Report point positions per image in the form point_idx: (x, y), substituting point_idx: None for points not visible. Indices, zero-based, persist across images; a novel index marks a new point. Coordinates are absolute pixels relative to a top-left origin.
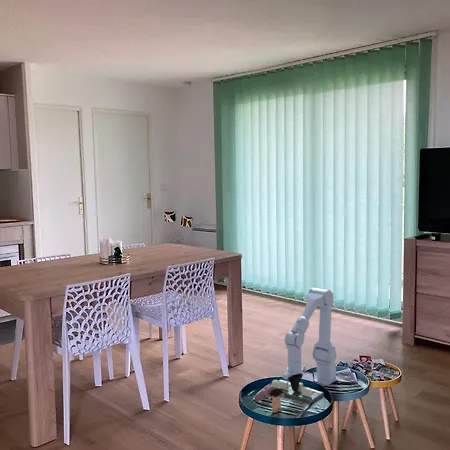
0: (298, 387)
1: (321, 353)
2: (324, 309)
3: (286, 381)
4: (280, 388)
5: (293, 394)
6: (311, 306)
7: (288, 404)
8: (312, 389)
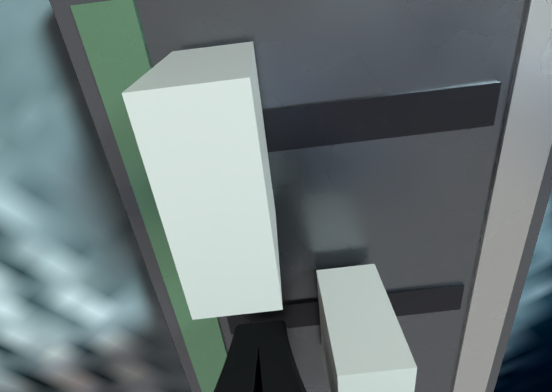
0: (330, 383)
1: None
2: None
3: (266, 273)
4: None
5: (200, 342)
6: None
7: (50, 359)
8: (486, 377)
